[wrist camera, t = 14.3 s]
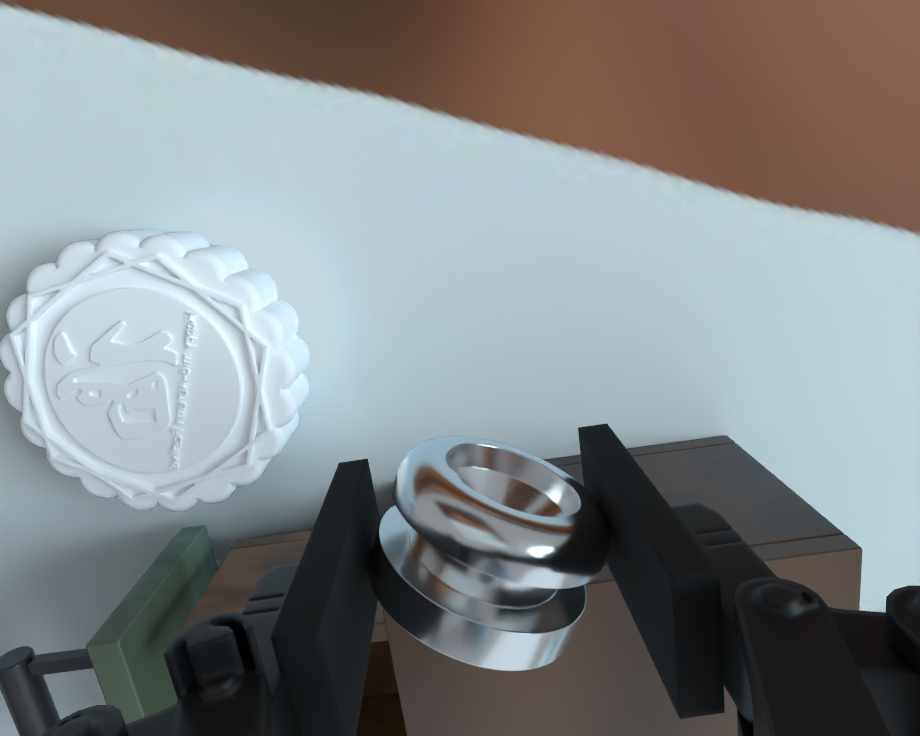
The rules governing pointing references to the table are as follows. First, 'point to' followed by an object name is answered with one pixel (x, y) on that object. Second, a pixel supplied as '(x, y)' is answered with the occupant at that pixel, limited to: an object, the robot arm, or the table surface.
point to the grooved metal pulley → (487, 552)
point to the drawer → (163, 617)
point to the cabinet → (629, 617)
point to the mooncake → (155, 367)
